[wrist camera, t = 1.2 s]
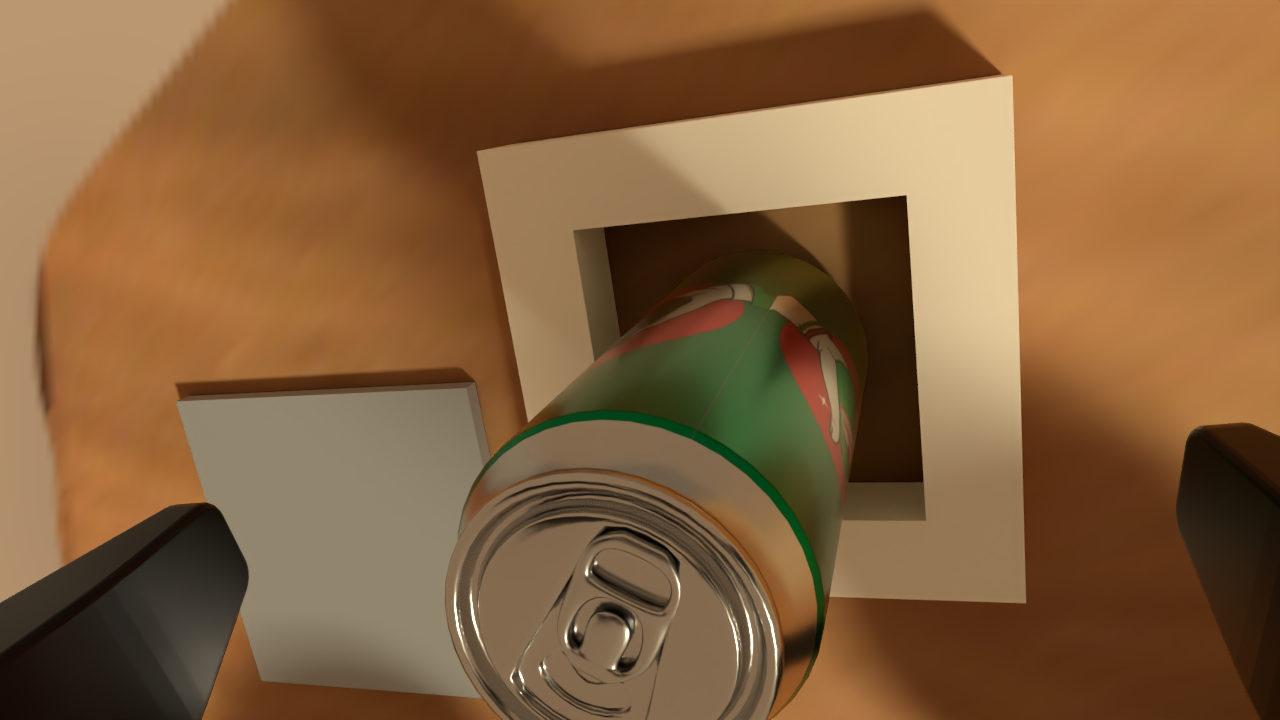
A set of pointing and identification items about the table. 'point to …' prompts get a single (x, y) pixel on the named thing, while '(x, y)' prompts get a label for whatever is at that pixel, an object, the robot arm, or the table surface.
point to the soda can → (670, 510)
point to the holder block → (801, 176)
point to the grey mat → (345, 525)
